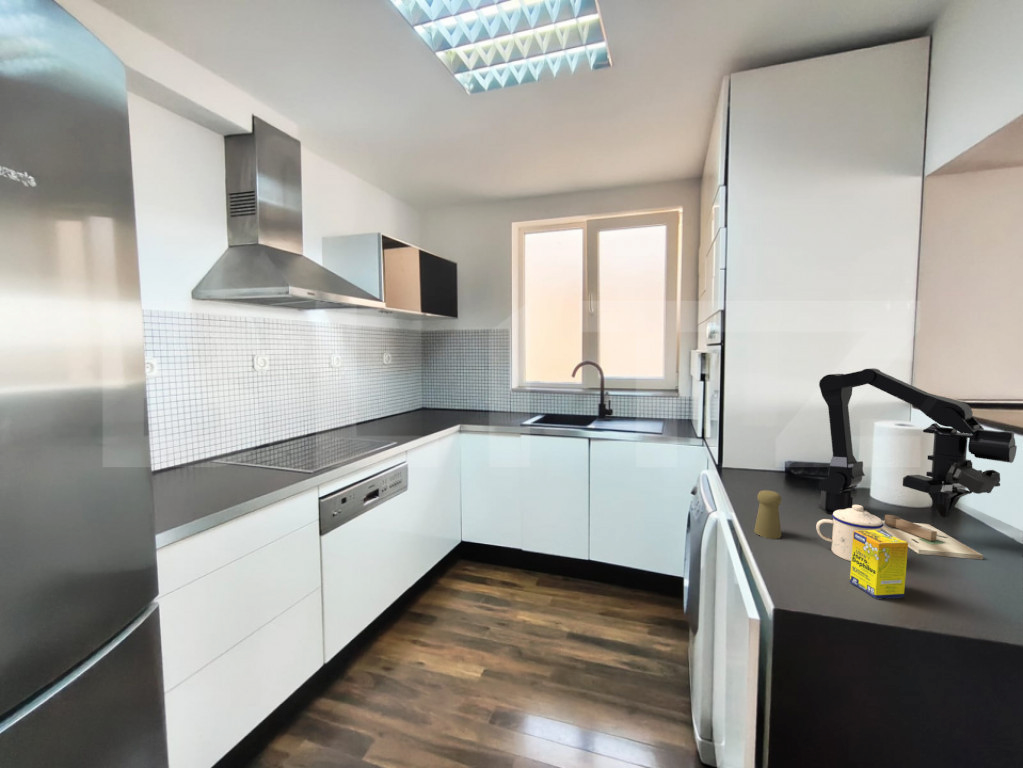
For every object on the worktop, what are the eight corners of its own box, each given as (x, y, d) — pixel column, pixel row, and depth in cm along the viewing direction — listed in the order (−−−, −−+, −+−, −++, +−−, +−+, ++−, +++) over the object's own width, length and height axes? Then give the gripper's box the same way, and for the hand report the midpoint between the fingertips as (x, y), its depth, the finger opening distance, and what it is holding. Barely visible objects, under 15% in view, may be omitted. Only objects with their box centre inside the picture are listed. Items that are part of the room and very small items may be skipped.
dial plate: (918, 553, 101) (918, 549, 101) (874, 523, 119) (874, 519, 119) (982, 559, 98) (983, 554, 98) (927, 527, 116) (928, 523, 116)
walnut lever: (881, 523, 116) (881, 514, 115) (891, 522, 116) (892, 514, 116) (927, 541, 105) (928, 532, 104) (938, 540, 105) (939, 531, 105)
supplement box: (848, 583, 89) (852, 530, 88) (876, 581, 89) (879, 529, 88) (875, 599, 83) (879, 543, 82) (905, 598, 83) (909, 541, 82)
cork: (785, 540, 109) (787, 496, 108) (758, 538, 110) (760, 494, 109) (776, 530, 114) (778, 488, 114) (750, 528, 116) (752, 487, 115)
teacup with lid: (877, 552, 102) (880, 503, 101) (884, 569, 94) (888, 516, 93) (814, 540, 108) (816, 494, 107) (816, 555, 100) (818, 505, 99)
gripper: (954, 463, 97) (949, 532, 98) (1024, 460, 100) (1018, 527, 101) (902, 452, 108) (898, 514, 109) (967, 449, 111) (962, 510, 112)
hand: (944, 516), depth 108 cm, fingers closed
